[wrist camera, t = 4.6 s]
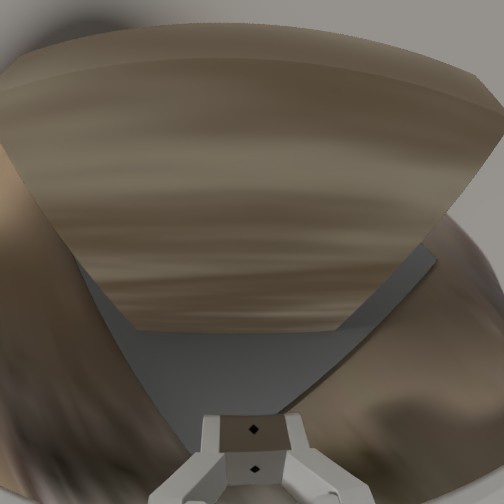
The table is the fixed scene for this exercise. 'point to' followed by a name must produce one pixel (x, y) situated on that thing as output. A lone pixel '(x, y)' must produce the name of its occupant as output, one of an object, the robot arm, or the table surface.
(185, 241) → the ash tile
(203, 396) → the charcoal mat
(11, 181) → the table surface
